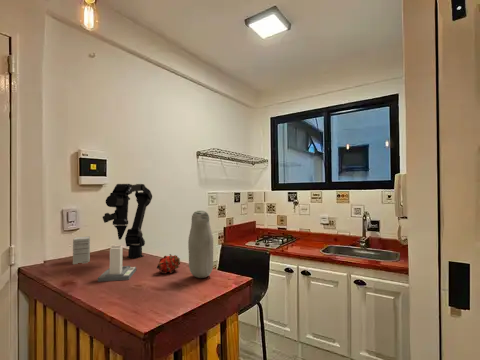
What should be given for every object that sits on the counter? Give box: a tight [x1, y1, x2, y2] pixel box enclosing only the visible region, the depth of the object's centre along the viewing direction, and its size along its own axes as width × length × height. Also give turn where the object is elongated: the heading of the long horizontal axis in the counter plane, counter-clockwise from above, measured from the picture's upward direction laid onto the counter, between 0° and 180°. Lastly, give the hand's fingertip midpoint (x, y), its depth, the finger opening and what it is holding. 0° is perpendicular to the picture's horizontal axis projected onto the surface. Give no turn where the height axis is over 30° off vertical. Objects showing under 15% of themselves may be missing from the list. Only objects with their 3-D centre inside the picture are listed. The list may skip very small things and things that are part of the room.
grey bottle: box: [187, 210, 214, 279], centre depth 116 cm, size 10×10×28 cm
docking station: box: [97, 265, 137, 283], centre depth 118 cm, size 14×12×2 cm
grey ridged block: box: [72, 236, 91, 265], centre depth 142 cm, size 7×7×13 cm
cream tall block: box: [109, 245, 124, 274], centre depth 115 cm, size 4×4×12 cm
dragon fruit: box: [156, 253, 181, 274], centre depth 122 cm, size 8×8×12 cm
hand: (119, 239), depth 136 cm, fingers closed
